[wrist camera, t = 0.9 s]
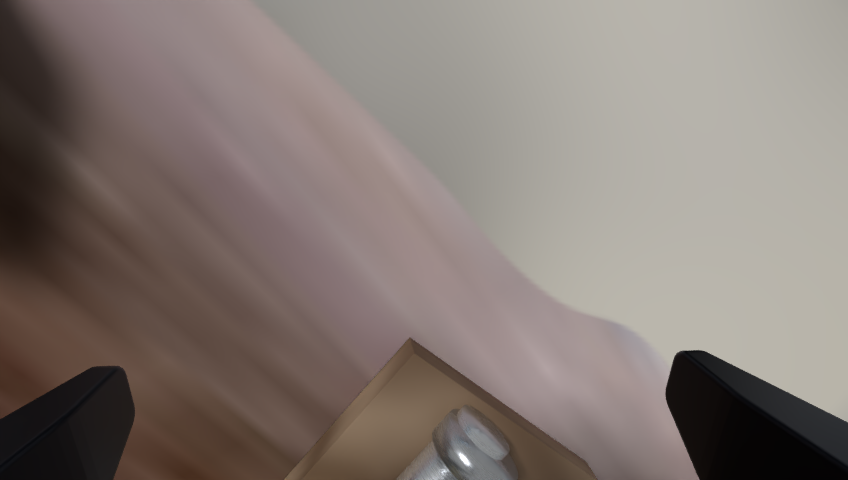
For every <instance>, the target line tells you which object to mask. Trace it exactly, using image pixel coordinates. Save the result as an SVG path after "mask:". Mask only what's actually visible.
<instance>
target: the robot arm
mask: <svg viewBox="0 0 848 480" xmlns="http://www.w3.org/2000/svg"><path fill="white" fill-rule="evenodd" d="M666 401H667V404H668V407H669V409H670V412H671V414H672V416H673V419H674V421H675V423H676V426H677V428H678V430H679V433H680V435H681V438H682V440H683V442H684V445H685V447H686V449H687V452H688V454H689V456H690V459H691V461H692V463H693V466H694V468H695V470H696V473H697V475H698V477H699V479H700V480H848V422H846V421H844V420H842V419H840V418H838V417H836V416H834V415H832V414H830V413H827V412H825V411H824V410H822V409H820V408H818V407H816V406H814V405H812V404H809V403H808V402H806V401H804V400H802V399H800V398H797V397H796V396H794V395H792V394H790V393H788V392H785V391H783V390H782V389H779V388H777V387H776V386H774V385H771V384H770V383H768V382H766V381H763V380H761V379H759V378H758V377H755V376H753V375H751V374H749V373H747V372H745V371H743V370H741V369H739V368H737V367H735V366H733V365H731V364H729V363H727V362H725V361H723V360H721V359H719V358H717V357H715V356H713V355H711V354H709V353H707V352H705V351H700V350H693V351H680V352H678V353H677V354H676V355H675V357H674V360H673V364H672V367H671V371H670V375H669V379H668V383H667V386H666ZM134 417H135V407H134V403H133V399H132V395H131V391H130V387H129V383H128V380H127V376H126V373H125V371H124V369H123V368H121V367H119V366H97V367H92V368H90V369H88V370H86V371H84V372H83V373H81V374H79V375H77V376H76V377H74V378H72V379H70V380H69V381H67V382H65V383H63V384H62V385H60V386H58V387H56V388H55V389H53V390H51V391H49V392H48V393H46V394H44V395H42V396H40V397H39V398H37V399H35V400H33V401H32V402H30V403H28V404H26V405H25V406H23V407H21V408H19V409H18V410H16V411H14V412H12V413H11V414H9V415H7V416H5V417H4V418H2V419H0V480H113V478H114V476H115V473H116V470H117V467H118V464H119V462H120V459H121V456H122V453H123V450H124V447H125V445H126V442H127V439H128V436H129V433H130V430H131V428H132V425H133V422H134Z"/></svg>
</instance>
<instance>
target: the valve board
mask: <svg viewBox="0 0 848 480" xmlns="http://www.w3.org/2000/svg"><path fill="white" fill-rule="evenodd" d="M284 480H597V478H596V476H595V475H594V473H593V472H592V470H591V469H590V467H589V466H588V464H587V463H586V462H585V461H584V460H583V459H581V458H580V457H578V456H577V455H576V454H574V453H573V452H571V451H570V450H568V449H567V448H566V447H564V446H563V445H561V444H560V443H559V442H557V441H556V440H554V439H553V438H551V437H550V436H549V435H547V434H546V433H544V432H543V431H542V430H540V429H539V428H537V427H536V426H534V425H533V424H532V423H530V422H529V421H527V420H526V419H524V418H523V417H522V416H520V415H519V414H517V413H516V412H515V411H513V410H512V409H510V408H509V407H507V406H506V405H505V404H503V403H502V402H500V401H499V400H498V399H496V398H495V397H493V396H492V395H490V394H489V393H488V392H486V391H485V390H483V389H482V388H481V387H479V386H478V385H476V384H475V383H473V382H472V381H471V380H469V379H468V378H466V377H465V376H464V375H462V374H461V373H459V372H458V371H456V370H455V369H454V368H452V367H451V366H449V365H448V364H446V363H445V362H444V361H442V360H441V359H439V358H438V357H437V356H435V355H434V354H432V353H431V352H429V351H428V350H427V349H425V348H424V347H422V346H421V345H420V344H418V343H417V342H415V341H414V340H412V339H411V338H409V339H408V340H407V341H406V342H405V344H404V345H403V346H402V347H401V348H400V349H399V350H398V351H397V353H396V354H395V355H394V356H393V357H392V358H391V359H390V360H389V362H388V363H387V364H386V365H385V366H384V367H383V368H382V369H381V371H380V372H379V373H378V374H377V375H376V376H375V377H374V379H373V380H372V381H371V382H370V383H369V384H368V385H367V386H366V388H365V389H364V390H363V391H362V392H361V393H360V394H359V395H358V397H357V398H356V399H355V400H354V401H353V402H352V403H351V404H350V406H349V407H348V408H347V409H346V410H345V411H344V412H343V414H342V415H341V416H340V417H339V418H338V419H337V420H336V421H335V423H334V424H333V425H332V426H331V427H330V428H329V429H328V430H327V432H326V433H325V434H324V435H323V436H322V437H321V438H320V439H319V441H318V442H317V443H316V444H315V445H314V446H313V447H312V448H311V450H310V451H309V452H308V453H307V454H306V455H305V456H304V458H303V459H302V460H301V461H300V462H299V463H298V464H297V465H296V467H295V468H294V469H293V470H292V471H291V472H290V473H289V474H288V476H287V477H286V478H285V479H284Z"/></svg>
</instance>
